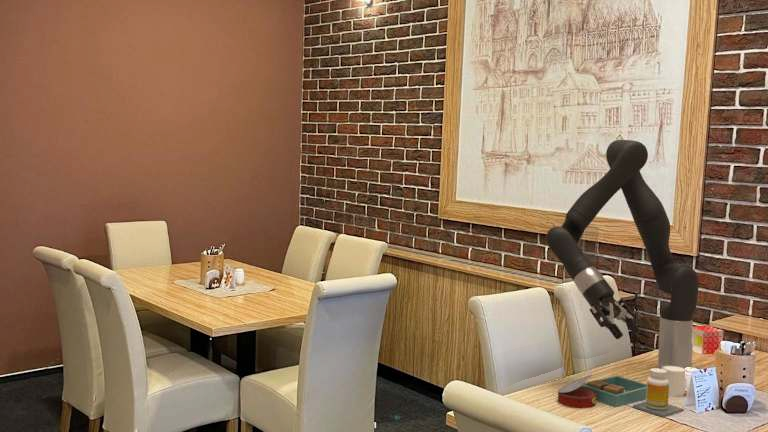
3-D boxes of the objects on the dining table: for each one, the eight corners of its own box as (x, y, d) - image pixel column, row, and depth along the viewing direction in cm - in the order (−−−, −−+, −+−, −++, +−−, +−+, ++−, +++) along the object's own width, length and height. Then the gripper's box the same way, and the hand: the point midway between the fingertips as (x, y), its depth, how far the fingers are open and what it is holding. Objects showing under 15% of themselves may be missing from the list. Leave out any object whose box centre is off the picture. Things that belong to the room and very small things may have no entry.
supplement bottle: (669, 411, 191) (671, 373, 190) (647, 409, 192) (649, 372, 191) (665, 404, 196) (667, 368, 196) (644, 402, 197) (646, 366, 197)
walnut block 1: (596, 394, 206) (596, 379, 206) (608, 397, 203) (608, 383, 203) (586, 396, 204) (587, 382, 204) (598, 400, 201) (599, 385, 200)
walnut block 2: (609, 398, 203) (610, 383, 202) (623, 401, 200) (624, 387, 200) (602, 401, 200) (603, 387, 200) (616, 405, 197) (617, 390, 197)
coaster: (653, 401, 200) (653, 399, 200) (683, 411, 193) (683, 408, 193) (632, 407, 195) (632, 405, 195) (662, 417, 188) (663, 415, 188)
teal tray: (616, 385, 214) (616, 375, 214) (652, 396, 204) (653, 386, 204) (579, 394, 205) (579, 384, 205) (615, 407, 195) (616, 396, 195)
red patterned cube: (687, 348, 259) (688, 326, 259) (706, 347, 261) (707, 325, 261) (702, 354, 252) (703, 331, 251) (722, 353, 253) (723, 330, 253)
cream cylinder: (687, 391, 210) (688, 367, 209) (685, 398, 204) (687, 373, 203) (661, 388, 213) (662, 363, 212) (659, 394, 207) (660, 369, 206)
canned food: (579, 426, 194) (569, 396, 190) (554, 410, 203) (544, 381, 199) (610, 402, 198) (601, 372, 194) (584, 387, 206) (575, 359, 203)
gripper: (587, 281, 201) (623, 331, 193) (616, 276, 210) (652, 323, 202) (569, 297, 205) (605, 347, 197) (599, 292, 214) (633, 339, 207)
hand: (629, 335), depth 200 cm, fingers open, 8 cm apart
